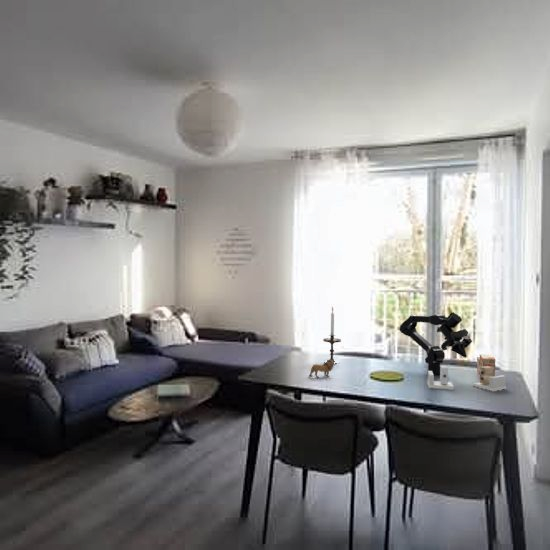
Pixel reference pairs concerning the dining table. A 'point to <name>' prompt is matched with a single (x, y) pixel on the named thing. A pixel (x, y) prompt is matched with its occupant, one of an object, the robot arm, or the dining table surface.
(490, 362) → the stack of blocks
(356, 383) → the dining table surface
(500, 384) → the white l-shaped holder
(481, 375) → the two dot key
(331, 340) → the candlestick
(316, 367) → the lion figurine
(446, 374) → the one dot key
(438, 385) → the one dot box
